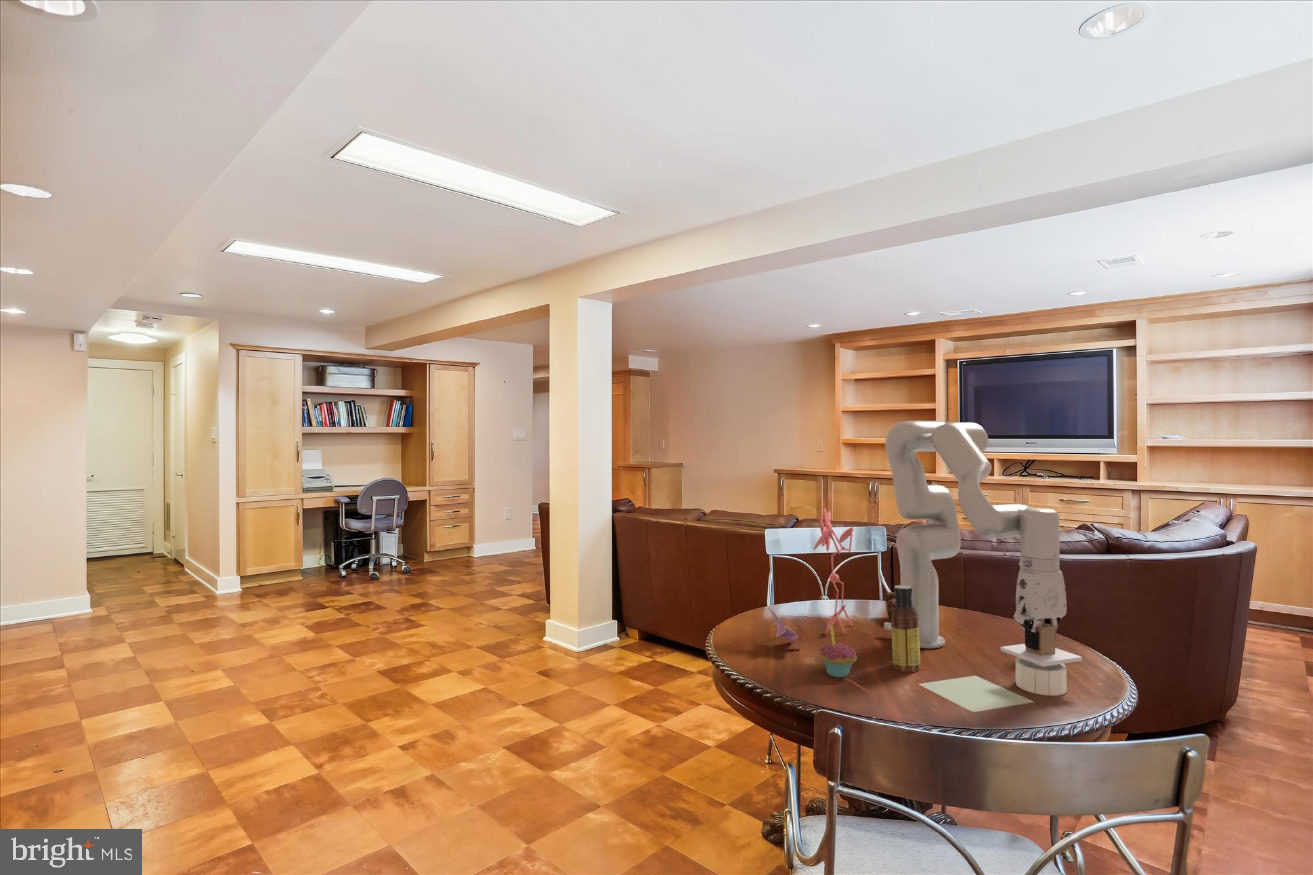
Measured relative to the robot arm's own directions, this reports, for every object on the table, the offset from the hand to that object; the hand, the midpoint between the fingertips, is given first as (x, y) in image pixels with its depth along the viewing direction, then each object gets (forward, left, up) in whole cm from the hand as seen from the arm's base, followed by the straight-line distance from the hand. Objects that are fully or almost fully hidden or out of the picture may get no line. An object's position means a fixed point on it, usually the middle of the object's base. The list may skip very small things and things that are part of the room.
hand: (1040, 646), depth 145 cm
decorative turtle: (-33, +43, -9) cm, 55 cm away
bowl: (0, 0, -9) cm, 9 cm away
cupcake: (-42, -10, -9) cm, 44 cm away
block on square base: (0, 0, -2) cm, 2 cm away
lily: (-59, +3, -10) cm, 60 cm away
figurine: (-53, +27, -9) cm, 60 cm away
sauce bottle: (-28, 0, -9) cm, 29 cm away
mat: (-13, -10, -9) cm, 19 cm away
